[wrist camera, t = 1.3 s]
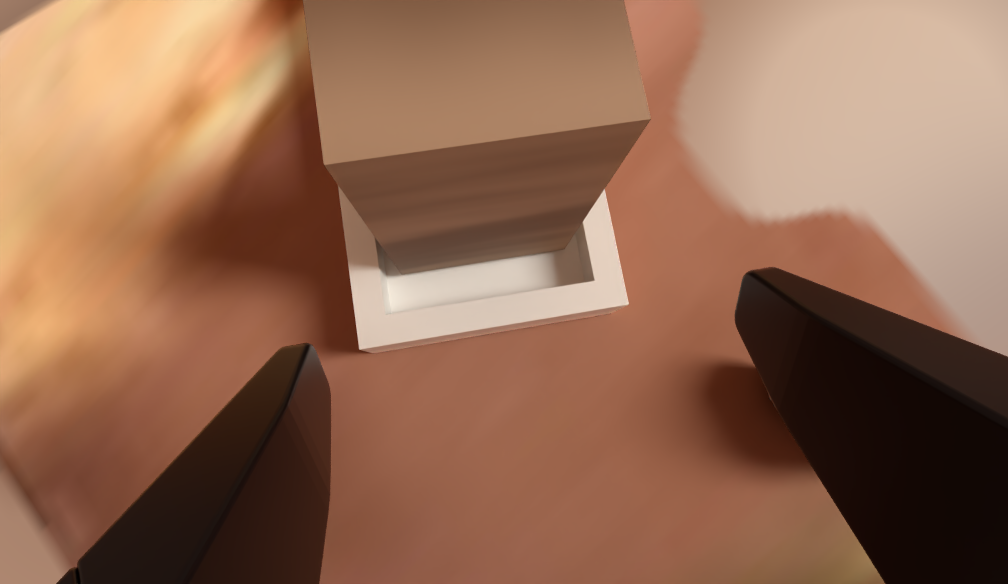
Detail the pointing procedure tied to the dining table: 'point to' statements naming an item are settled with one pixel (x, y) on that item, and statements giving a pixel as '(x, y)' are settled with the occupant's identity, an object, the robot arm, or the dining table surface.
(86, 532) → the dining table surface
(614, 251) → the white rectangular recessed tray
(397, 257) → the walnut block
